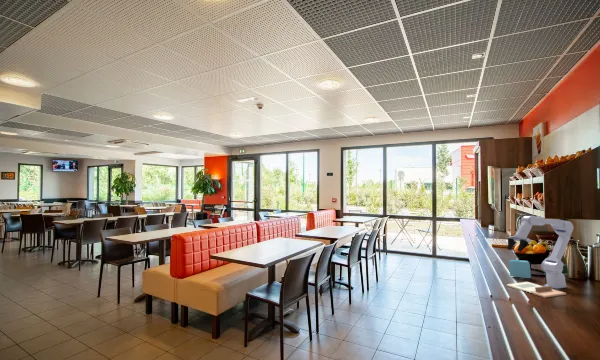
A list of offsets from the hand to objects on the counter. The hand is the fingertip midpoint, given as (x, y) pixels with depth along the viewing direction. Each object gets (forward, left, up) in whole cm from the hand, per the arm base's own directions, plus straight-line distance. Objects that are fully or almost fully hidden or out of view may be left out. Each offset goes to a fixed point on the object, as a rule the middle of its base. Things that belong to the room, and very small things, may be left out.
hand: (513, 250), depth 192 cm
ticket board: (-11, -3, -26) cm, 28 cm away
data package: (-27, -25, -26) cm, 45 cm away
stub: (-11, +10, -26) cm, 30 cm away
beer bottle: (-45, -10, -26) cm, 53 cm away
